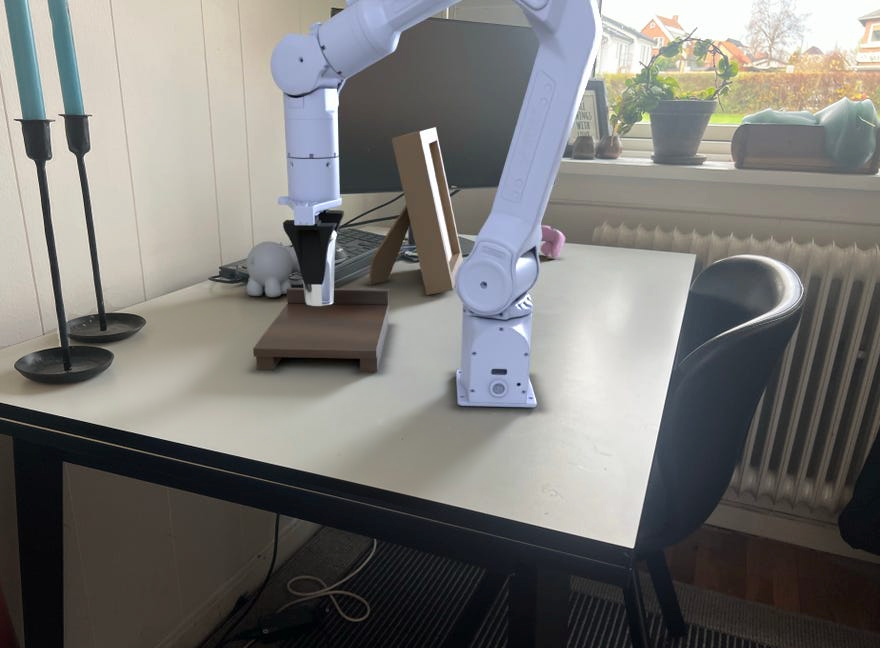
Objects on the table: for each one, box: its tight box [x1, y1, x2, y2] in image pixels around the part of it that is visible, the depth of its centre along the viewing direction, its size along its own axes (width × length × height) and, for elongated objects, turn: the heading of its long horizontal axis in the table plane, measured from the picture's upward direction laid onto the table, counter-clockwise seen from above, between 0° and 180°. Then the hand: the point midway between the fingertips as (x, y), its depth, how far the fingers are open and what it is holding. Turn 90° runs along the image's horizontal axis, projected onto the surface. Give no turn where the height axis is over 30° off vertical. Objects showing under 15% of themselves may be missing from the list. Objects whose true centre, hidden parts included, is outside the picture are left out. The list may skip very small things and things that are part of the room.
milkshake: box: [302, 231, 338, 307], centre depth 82 cm, size 4×5×10 cm
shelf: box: [252, 287, 390, 373], centre depth 89 cm, size 20×14×5 cm
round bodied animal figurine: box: [245, 240, 300, 298], centre depth 114 cm, size 7×12×8 cm, turn 152°
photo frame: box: [368, 126, 464, 296], centre depth 120 cm, size 15×22×25 cm
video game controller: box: [540, 224, 566, 260], centre depth 143 cm, size 10×5×7 cm, turn 58°
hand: (317, 278), depth 82 cm, fingers closed on milkshake, 5 cm apart
